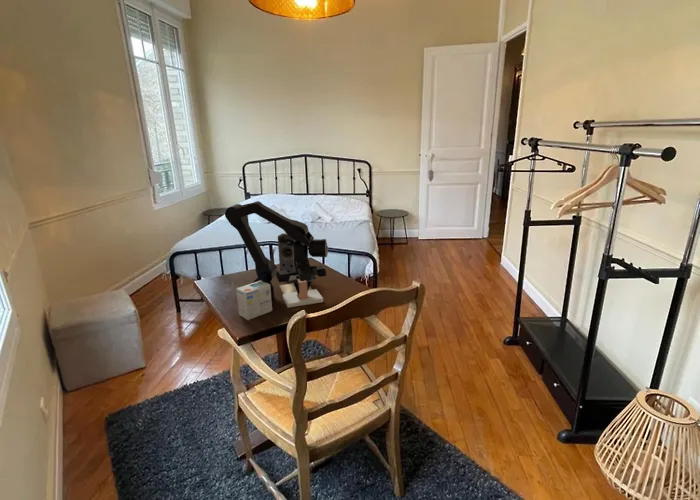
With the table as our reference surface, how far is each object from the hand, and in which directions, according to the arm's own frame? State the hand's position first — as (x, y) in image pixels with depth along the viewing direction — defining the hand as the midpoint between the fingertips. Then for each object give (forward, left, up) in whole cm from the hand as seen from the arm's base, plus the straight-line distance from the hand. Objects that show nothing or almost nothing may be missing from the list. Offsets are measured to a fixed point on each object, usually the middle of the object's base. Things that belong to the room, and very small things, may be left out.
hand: (302, 293), depth 152 cm
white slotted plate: (0, 0, -2) cm, 2 cm away
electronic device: (+1, +26, -3) cm, 26 cm away
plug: (0, 0, -3) cm, 3 cm away
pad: (0, +12, -2) cm, 12 cm away
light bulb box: (-19, -5, -3) cm, 20 cm away
